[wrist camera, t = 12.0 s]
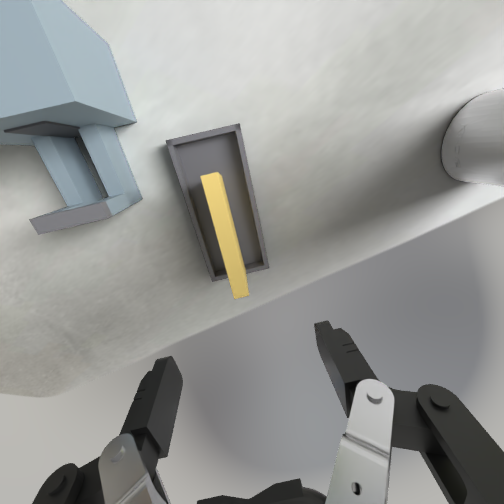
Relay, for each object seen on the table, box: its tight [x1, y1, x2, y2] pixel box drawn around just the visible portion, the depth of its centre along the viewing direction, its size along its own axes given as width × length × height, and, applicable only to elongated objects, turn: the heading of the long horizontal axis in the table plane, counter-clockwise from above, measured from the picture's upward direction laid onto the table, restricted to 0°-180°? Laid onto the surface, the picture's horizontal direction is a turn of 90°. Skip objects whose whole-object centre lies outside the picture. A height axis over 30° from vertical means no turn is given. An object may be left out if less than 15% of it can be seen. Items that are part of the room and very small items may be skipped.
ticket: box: [200, 172, 249, 299], centre depth 23 cm, size 1×11×6 cm, turn 12°
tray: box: [166, 123, 269, 282], centre depth 25 cm, size 7×16×2 cm, turn 12°
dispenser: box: [0, 0, 142, 235], centre depth 18 cm, size 10×13×10 cm
